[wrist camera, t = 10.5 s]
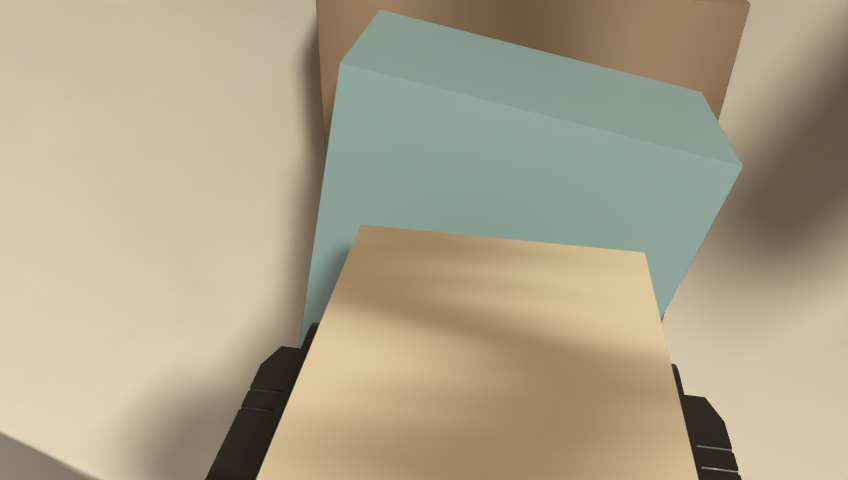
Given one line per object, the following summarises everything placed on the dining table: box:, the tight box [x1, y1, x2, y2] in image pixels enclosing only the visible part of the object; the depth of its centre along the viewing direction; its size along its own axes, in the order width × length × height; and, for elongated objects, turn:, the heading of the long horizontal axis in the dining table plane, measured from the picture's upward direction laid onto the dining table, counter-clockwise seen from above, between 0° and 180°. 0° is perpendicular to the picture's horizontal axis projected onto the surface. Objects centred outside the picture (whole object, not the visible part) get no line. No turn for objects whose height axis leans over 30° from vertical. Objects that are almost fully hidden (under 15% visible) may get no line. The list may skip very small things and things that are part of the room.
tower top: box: [299, 10, 743, 348], centre depth 17 cm, size 8×8×4 cm
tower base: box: [316, 0, 750, 323], centre depth 20 cm, size 10×10×4 cm
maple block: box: [256, 224, 698, 480], centre depth 11 cm, size 5×5×6 cm
